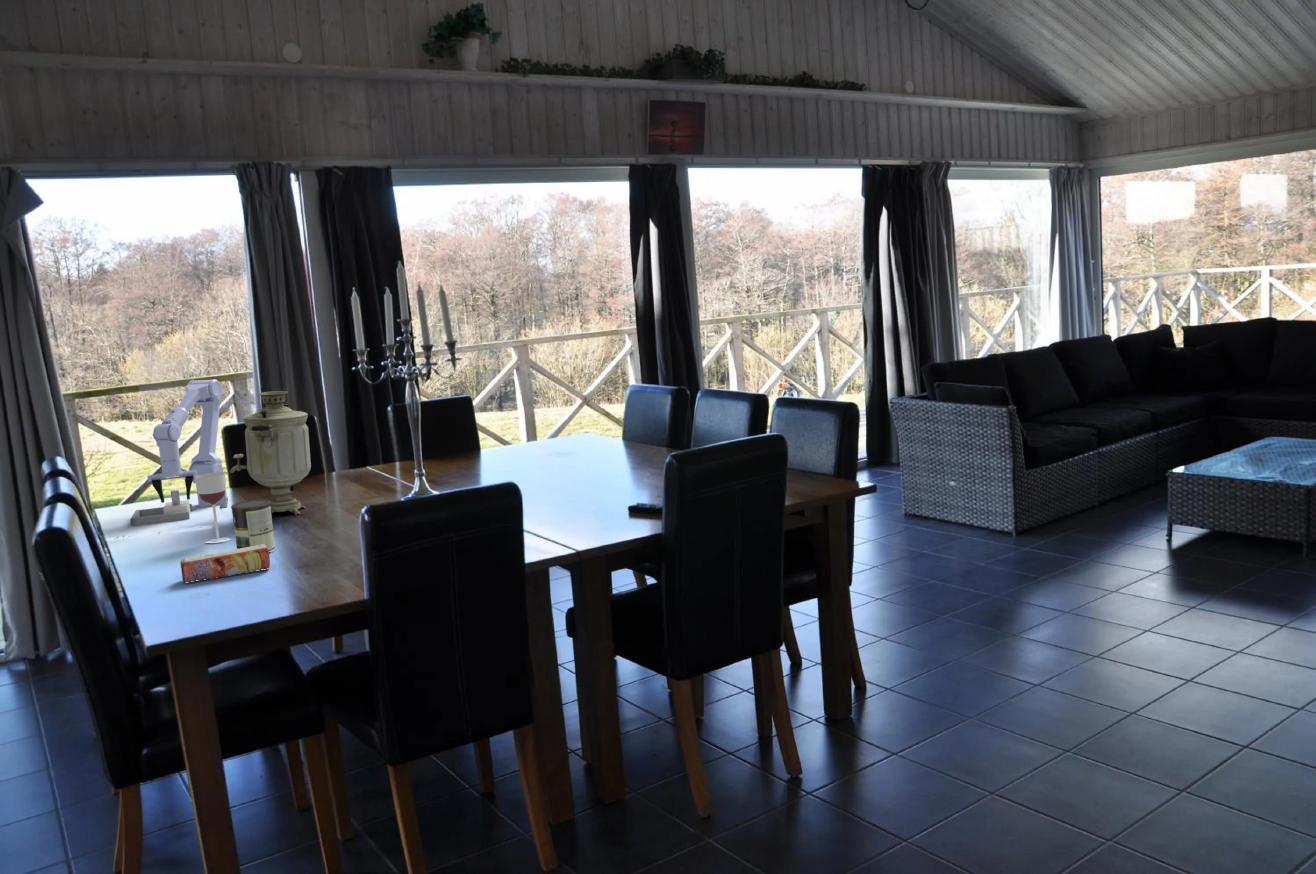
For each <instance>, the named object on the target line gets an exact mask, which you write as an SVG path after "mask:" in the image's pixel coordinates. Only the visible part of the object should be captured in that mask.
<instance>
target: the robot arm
mask: <svg viewBox="0 0 1316 874" xmlns="http://www.w3.org/2000/svg"><path fill="white" fill-rule="evenodd" d="M222 398H223V385H221V383H220V381H219V380H217V379H215V378H214V379H203V380H202V379H199V380H195V379H194V380H193V379H192V380H190V381H189V382H188V383H187V385H186V386H185V394H184V396H183V398H182V399H181V401H180V403H179V404H178V406H177V407H173V408H172V407H171V408H170V410H169V412H168V414H167V415H166V416H165V418H164V419H163V421H162V422H161V423H159V424H157V425H155V426H154V428H153V430H152V431H153V432H152V437H153V439H154V441H155V443H156V446H157V447H158V452H159V458H160V467H161V473H154V474H150V475H147V482H148V483H150V482H151V485H152V487H153V488H154V490H155V491H156V493H157V494H158V497H159V498H160V499H159V500H160V502H161V504H162V503H163V504H164V503H165V497H164V491H163V484H162V481H165V480H166V481H167V480H174V479H175V480H176V479H177V480H178V479H184V483H185V489H186V490H185V491H186V501H187V500H189V501H190V499H191V488H192V484H196V483H195V476H197V475H201V474H206V473H214V472H224V469H223V460H222V459H221V458H220V457H219V456H218V455H216V451H217V440H218V438H217V437H218V431H219V430H218V429H219V419H220V417H219V416H220V408H221V407H220V406H221V405H222V401H223V400H222ZM195 405H198V406H199V407H201V409H202V415H201V425H200V426H201V427H200V435H199V446H198V453H197V454H196V455H195V456H193V457H192V458H191V463H190V466H188V470H182V465H181V457H180V456H181V455H180V450H179V448H180V447H179V443H178V442H179V441H178V440H179V439H180V438H181V436H182V435H181V434H182V433H181V432H182V429H183V427H184V425H185V424H186V422H187V420H189V412H190V411H191V410H192V409H193V407H194V406H195ZM195 487H196V486H195ZM227 494H228V493H227V489H226V490H225V495H224V497H223V498H222V499H221V500H219V501H218V502H217V503H216V504H215V506H217V505H219V509H221V508H227V507H228V503H229V496H228V495H227ZM196 495H197V504H198V506H199V507H213V506H212V504H210V503H207V502H205V501H203V500H202V499H201V498H200V496H199V494H198V491H197V487H196Z"/></svg>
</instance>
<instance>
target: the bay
mask: <svg viewBox="0 0 1316 874" xmlns="http://www.w3.org/2000/svg"><path fill="white" fill-rule="evenodd" d="M189 504H190V512H193V510H194V509H193V503H189ZM163 508H164V506H161V507H154V508H153V507H152V508H143V509H137V510H136V509H135V511H134V512H133V514H132V516H131V517H130V523H131V524H130V525H131V527H135V526H143V525H150V524H151V525H152V524H160V523H166V522H167V523H168V522H177V521H183V520H190V519H191V516H190V515H189V511H186V512H178V513H170V514H164V509H163Z"/></svg>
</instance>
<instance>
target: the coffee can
mask: <svg viewBox="0 0 1316 874" xmlns="http://www.w3.org/2000/svg"><path fill="white" fill-rule="evenodd" d="M270 503H271V500H268V499H252V500H250V499H249V500H244V501H240V502H236V503H234V504H231V506H230V508H231V512H232V513H231V514H232V520H233V529H234V535H235V536H234V537H235V544H236V549H240V548H245V547H251V546H257V545H261V544H265V545H266V547H267V548H268V551H271V550H273V549H275V550H276V544H275V536H274V527H273V518H272V514H271V508H270Z"/></svg>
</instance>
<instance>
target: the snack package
mask: <svg viewBox="0 0 1316 874" xmlns="http://www.w3.org/2000/svg"><path fill="white" fill-rule="evenodd" d="M270 559H271V558H270V553H269V551H268V548H267V547H266V545H265V544H261V545H257V546H251V547H245V548H240V549H237V548H236V549H231V550H225V551H224V550H223V551H219V552H214V553H209V554H203V555H198V556H192V557H187V558H182V559H181V560H180V571H181V578H182V581H183V582H191V581H196V580H204V579H210V578H216V577H222V576H228V577H230V576H229V575H234V574H239V573H245V574H247V573H246V572H251V571H256V570H261V569H267V568H269V569H270V567H271V566H270V565H271V560H270ZM239 575H240V574H239ZM234 576H235V575H234ZM222 578H223V577H222ZM210 580H211V579H210ZM204 581H205V580H204Z"/></svg>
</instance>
